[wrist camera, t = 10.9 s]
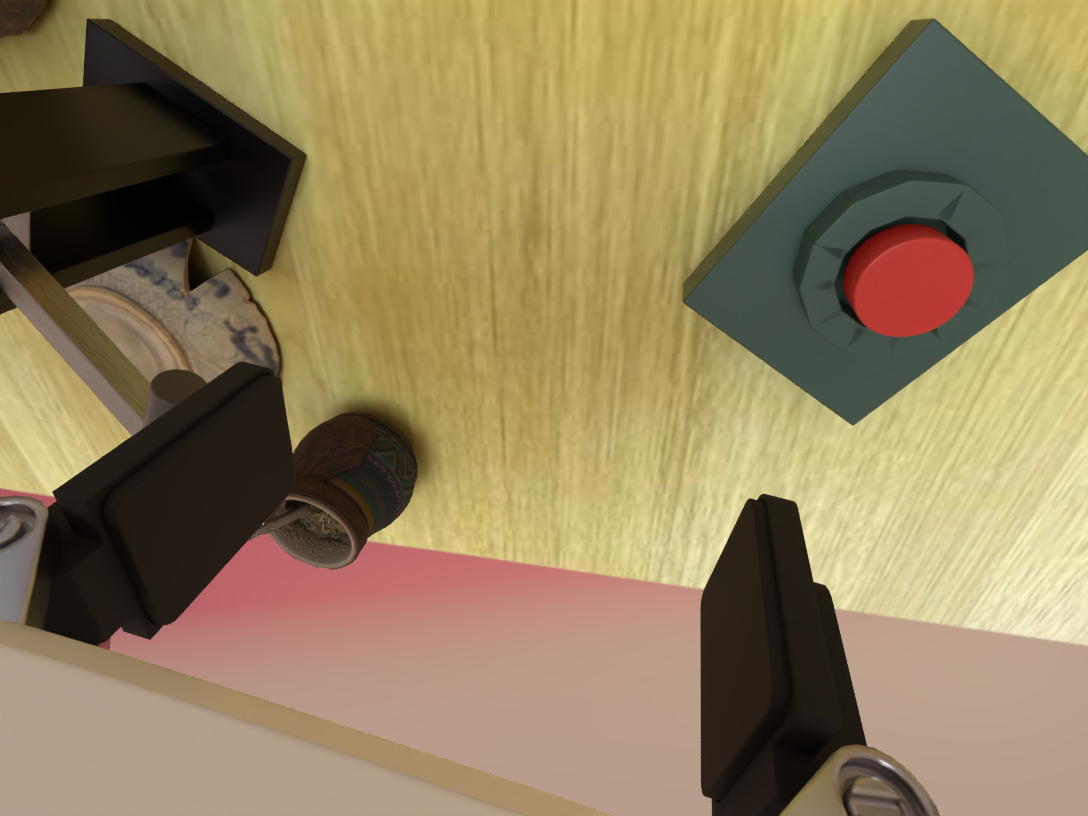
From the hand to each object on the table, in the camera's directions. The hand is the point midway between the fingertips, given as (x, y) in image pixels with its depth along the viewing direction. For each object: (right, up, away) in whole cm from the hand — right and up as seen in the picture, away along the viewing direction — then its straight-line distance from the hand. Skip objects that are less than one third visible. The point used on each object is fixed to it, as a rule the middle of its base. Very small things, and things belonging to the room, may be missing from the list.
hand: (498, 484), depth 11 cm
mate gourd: (-10, -1, +25) cm, 27 cm away
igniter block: (+15, +8, +12) cm, 21 cm away
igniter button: (+14, +7, +9) cm, 18 cm away
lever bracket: (-16, +14, +17) cm, 27 cm away
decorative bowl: (-22, +6, +24) cm, 33 cm away
